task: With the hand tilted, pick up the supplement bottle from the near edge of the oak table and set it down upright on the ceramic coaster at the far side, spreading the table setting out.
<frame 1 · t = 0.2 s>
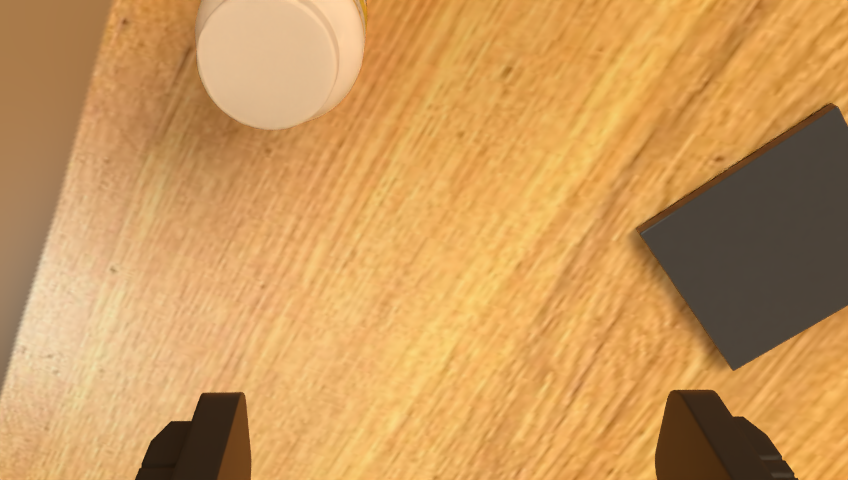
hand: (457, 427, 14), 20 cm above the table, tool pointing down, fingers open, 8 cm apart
coaster: (775, 244, 35), on the table
supplement bottle: (302, 10, 30), on the table
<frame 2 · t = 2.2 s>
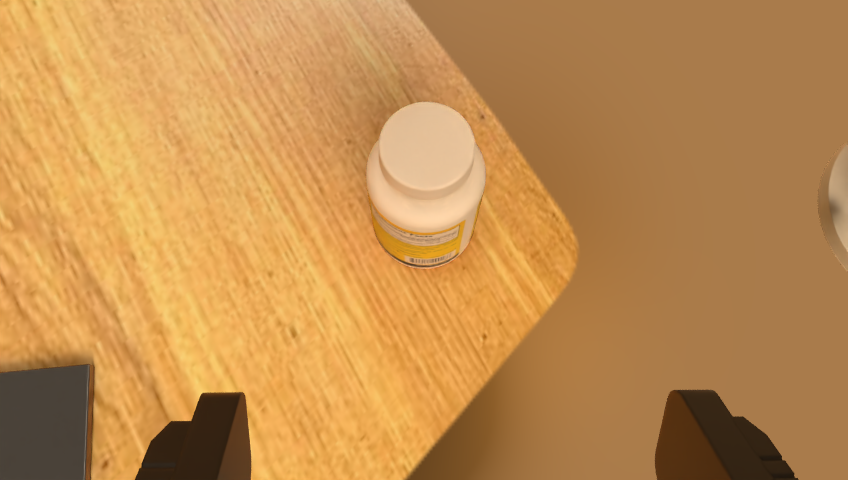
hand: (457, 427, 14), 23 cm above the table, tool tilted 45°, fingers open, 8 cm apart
supplement bottle: (422, 223, 39), on the table
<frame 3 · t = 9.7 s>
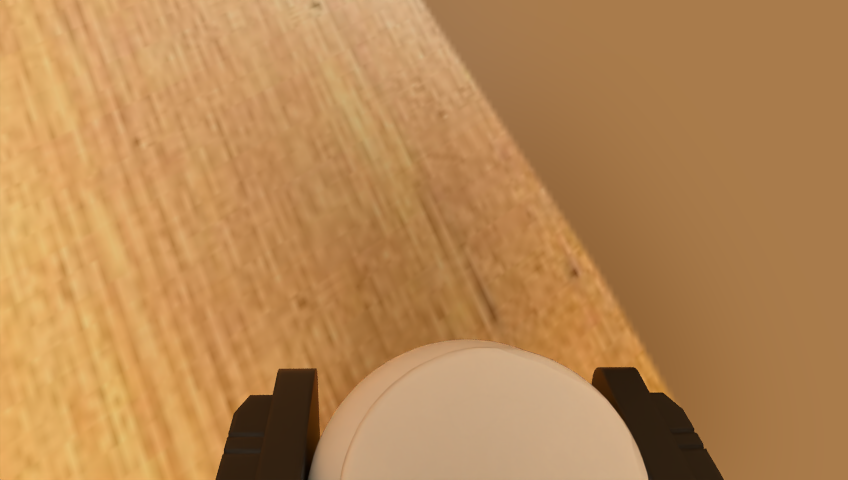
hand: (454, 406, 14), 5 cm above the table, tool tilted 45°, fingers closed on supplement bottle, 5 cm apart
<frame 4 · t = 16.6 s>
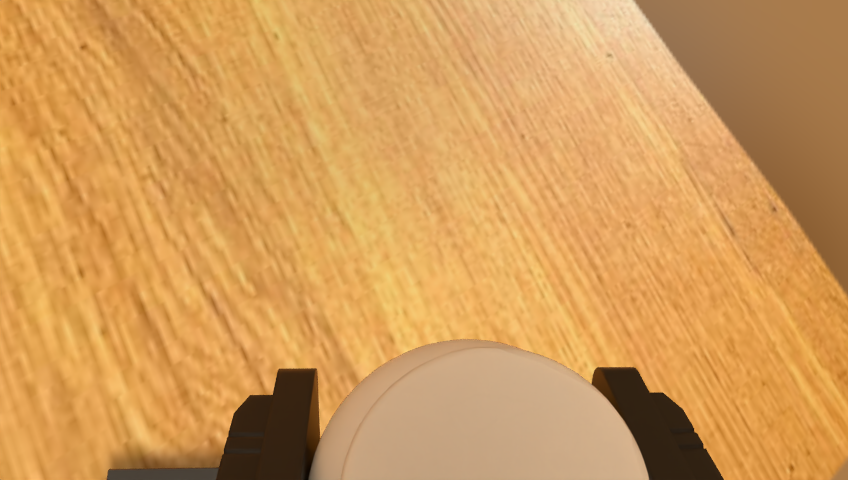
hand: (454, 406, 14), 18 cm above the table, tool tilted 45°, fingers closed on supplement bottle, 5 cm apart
when the fingers open (5 cm above the table, at t = 23.7 s): supplement bottle stays where it is, resting on coaster.
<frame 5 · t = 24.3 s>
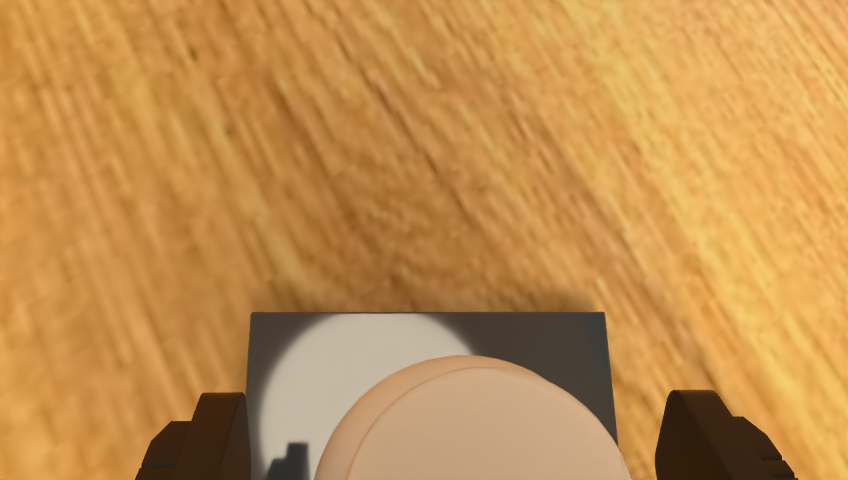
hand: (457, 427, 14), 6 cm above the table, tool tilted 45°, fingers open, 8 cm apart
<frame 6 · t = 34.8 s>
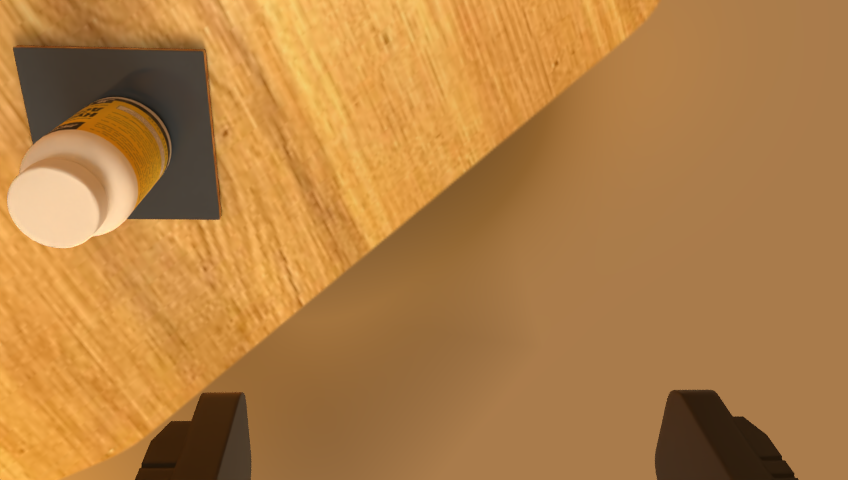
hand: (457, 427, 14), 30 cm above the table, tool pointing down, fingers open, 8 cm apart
coaster: (125, 135, 41), on the table
supplement bottle: (125, 140, 41), resting on coaster
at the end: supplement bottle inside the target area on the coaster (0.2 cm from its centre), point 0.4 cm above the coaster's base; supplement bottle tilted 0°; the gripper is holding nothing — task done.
